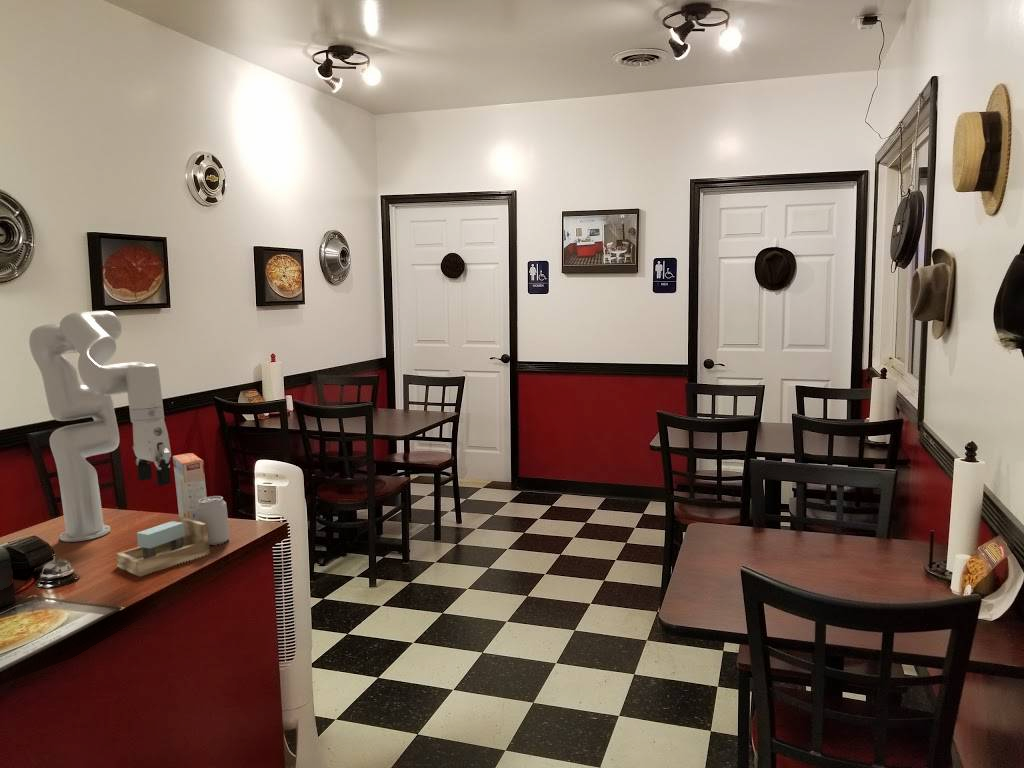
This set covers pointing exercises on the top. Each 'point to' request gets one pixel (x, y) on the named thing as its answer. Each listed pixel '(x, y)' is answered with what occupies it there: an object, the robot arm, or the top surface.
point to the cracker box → (189, 483)
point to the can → (214, 518)
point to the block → (160, 534)
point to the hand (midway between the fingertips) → (154, 482)
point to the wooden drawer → (167, 551)
